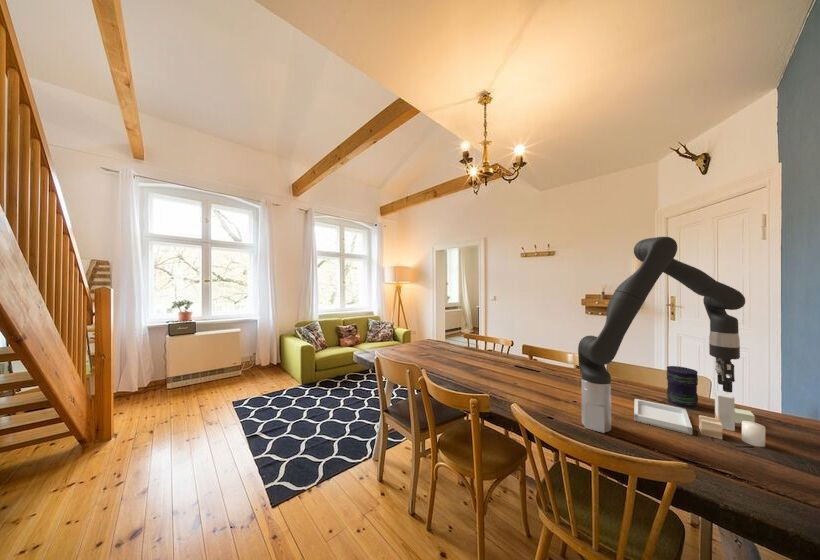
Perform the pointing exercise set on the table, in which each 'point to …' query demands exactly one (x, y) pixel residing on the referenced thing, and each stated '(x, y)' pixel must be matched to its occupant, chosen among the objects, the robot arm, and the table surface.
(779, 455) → the table surface
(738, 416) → the sage block
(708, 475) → the table surface
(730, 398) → the skincare box
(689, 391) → the storage jar
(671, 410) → the tray
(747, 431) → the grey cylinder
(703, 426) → the beech block
